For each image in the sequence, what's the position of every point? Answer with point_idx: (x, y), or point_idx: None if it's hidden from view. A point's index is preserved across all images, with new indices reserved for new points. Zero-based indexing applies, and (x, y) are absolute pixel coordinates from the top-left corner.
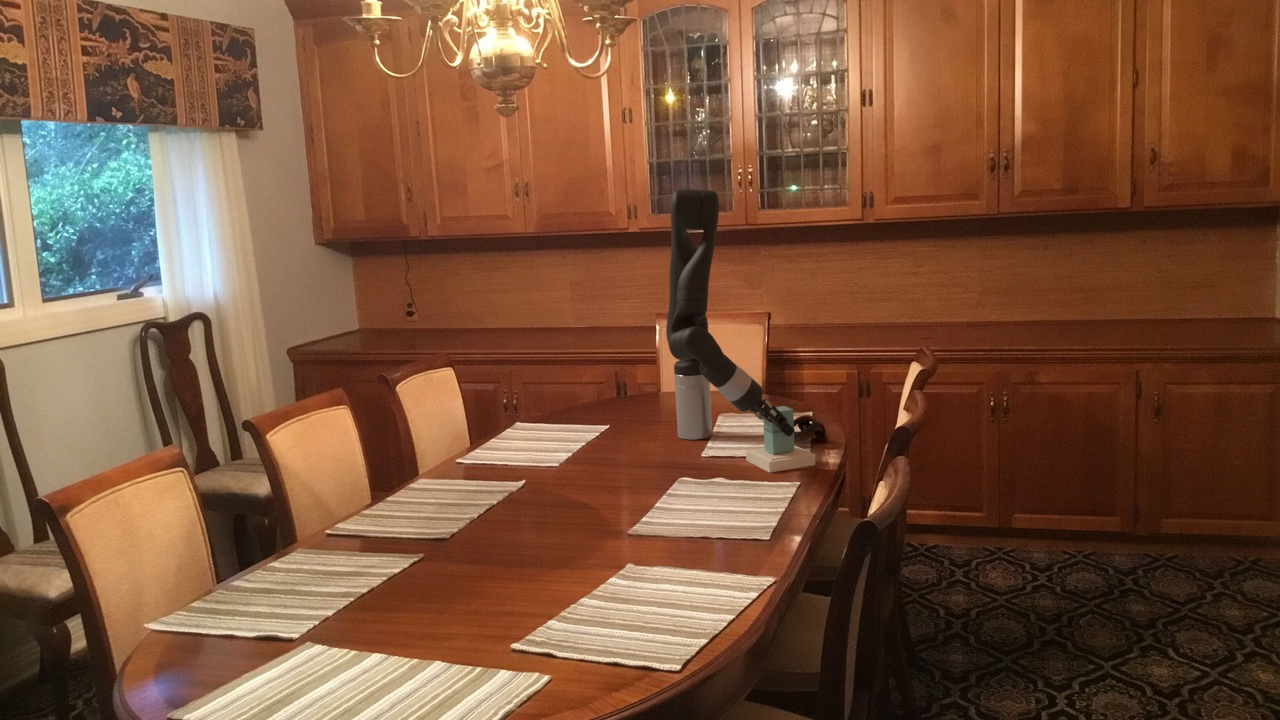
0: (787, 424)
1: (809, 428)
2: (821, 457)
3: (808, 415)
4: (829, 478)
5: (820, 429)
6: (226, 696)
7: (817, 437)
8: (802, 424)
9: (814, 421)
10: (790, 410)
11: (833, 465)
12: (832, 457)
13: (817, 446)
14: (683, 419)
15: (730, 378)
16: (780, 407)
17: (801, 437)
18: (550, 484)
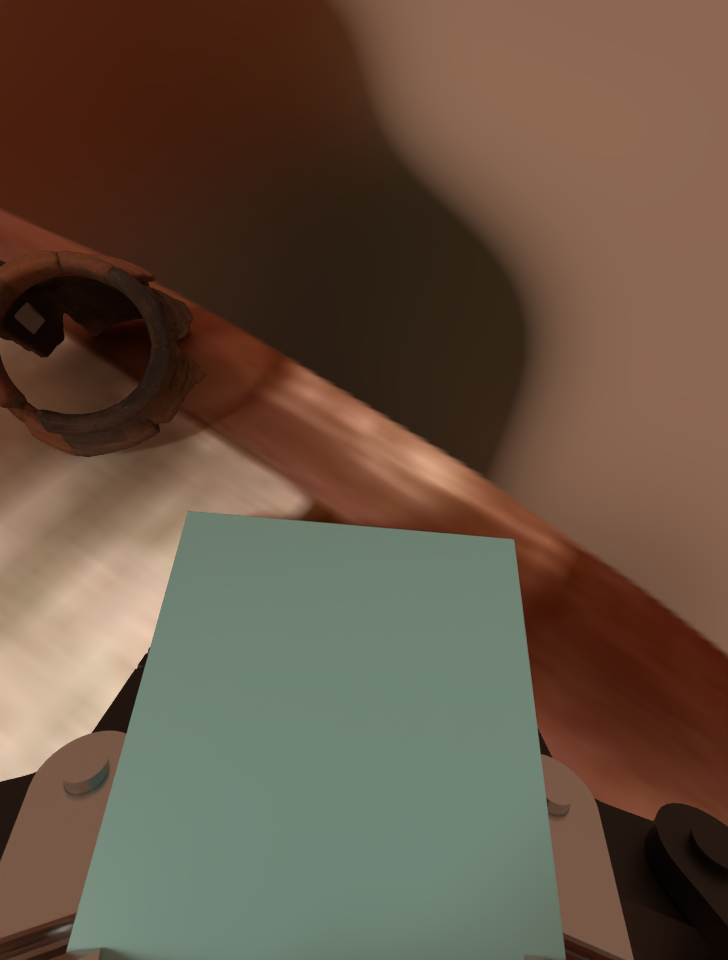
0: (539, 732)
1: (167, 356)
2: (366, 475)
3: (44, 257)
4: (705, 647)
5: (188, 316)
6: None
7: (106, 325)
8: (9, 312)
9: (144, 292)
10: (518, 597)
11: (509, 508)
12: (394, 441)
13: (202, 390)
14: None
15: None
16: (234, 638)
17: (147, 420)
18: None
